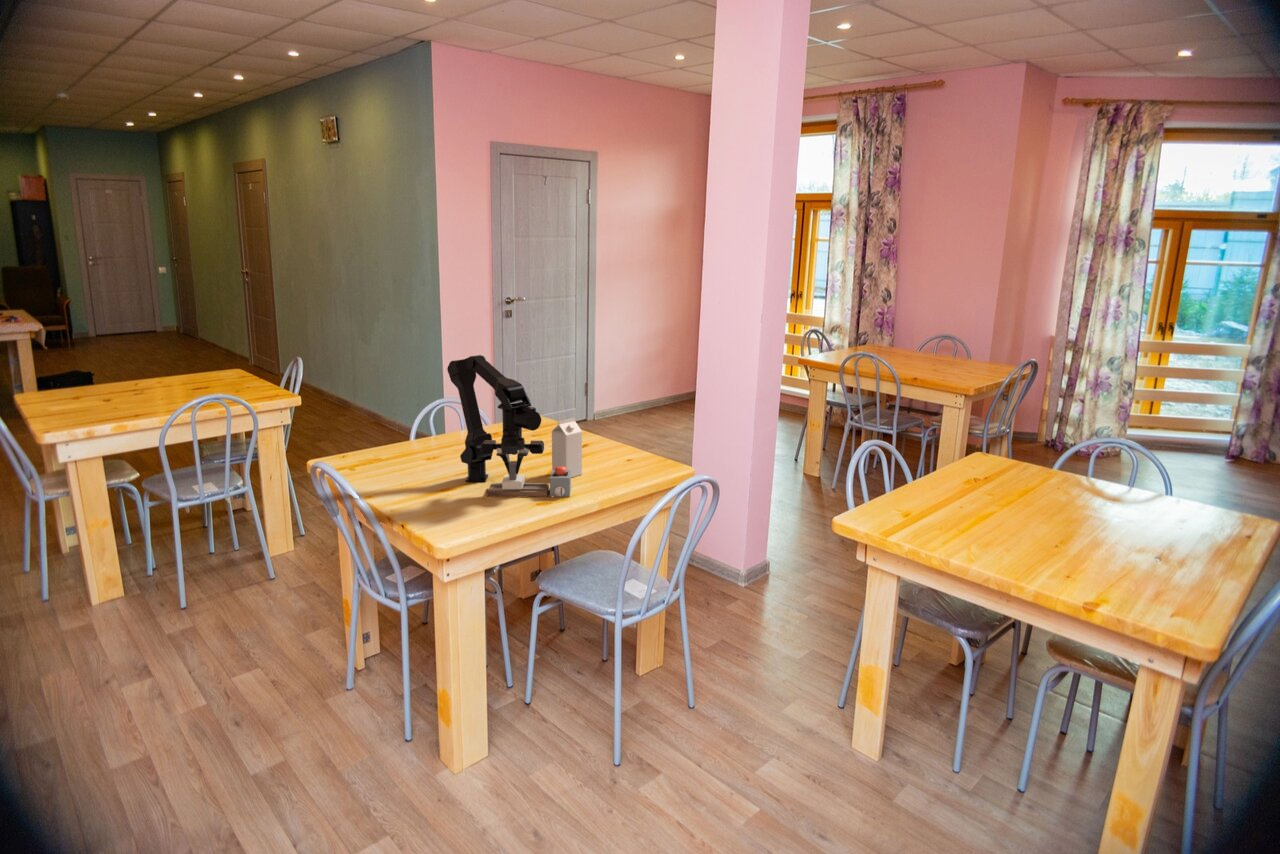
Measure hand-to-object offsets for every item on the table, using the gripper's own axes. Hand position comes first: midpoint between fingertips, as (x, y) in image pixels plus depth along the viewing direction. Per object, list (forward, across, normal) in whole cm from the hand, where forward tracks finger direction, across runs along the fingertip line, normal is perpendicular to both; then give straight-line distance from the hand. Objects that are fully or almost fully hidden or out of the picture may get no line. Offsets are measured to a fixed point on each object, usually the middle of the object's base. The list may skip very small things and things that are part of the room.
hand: (513, 473), depth 234 cm
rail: (+6, +2, 0) cm, 6 cm away
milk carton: (+6, +15, +18) cm, 25 cm away
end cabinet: (+6, +14, 0) cm, 16 cm away
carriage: (+4, 0, 0) cm, 4 cm away
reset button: (0, +14, 0) cm, 15 cm away
